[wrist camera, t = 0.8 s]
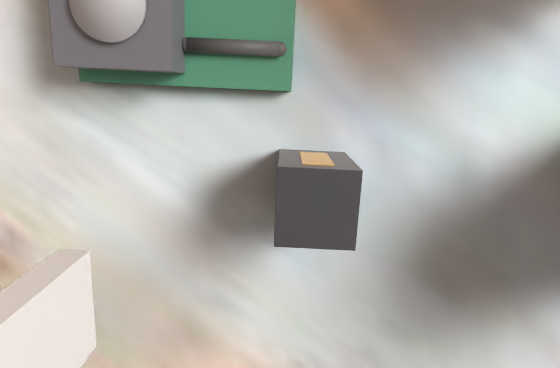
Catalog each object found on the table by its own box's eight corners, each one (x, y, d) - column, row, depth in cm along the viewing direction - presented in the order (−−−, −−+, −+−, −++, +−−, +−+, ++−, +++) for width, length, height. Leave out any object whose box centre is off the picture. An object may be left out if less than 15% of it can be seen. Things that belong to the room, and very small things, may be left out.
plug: (339, 214, 25) (355, 250, 19) (276, 211, 25) (273, 246, 20) (344, 151, 24) (362, 169, 19) (279, 148, 24) (277, 165, 19)
